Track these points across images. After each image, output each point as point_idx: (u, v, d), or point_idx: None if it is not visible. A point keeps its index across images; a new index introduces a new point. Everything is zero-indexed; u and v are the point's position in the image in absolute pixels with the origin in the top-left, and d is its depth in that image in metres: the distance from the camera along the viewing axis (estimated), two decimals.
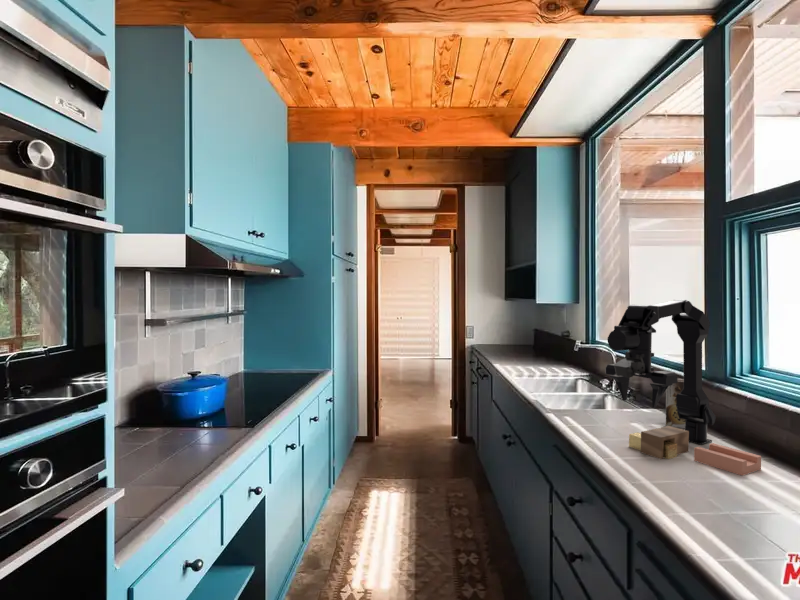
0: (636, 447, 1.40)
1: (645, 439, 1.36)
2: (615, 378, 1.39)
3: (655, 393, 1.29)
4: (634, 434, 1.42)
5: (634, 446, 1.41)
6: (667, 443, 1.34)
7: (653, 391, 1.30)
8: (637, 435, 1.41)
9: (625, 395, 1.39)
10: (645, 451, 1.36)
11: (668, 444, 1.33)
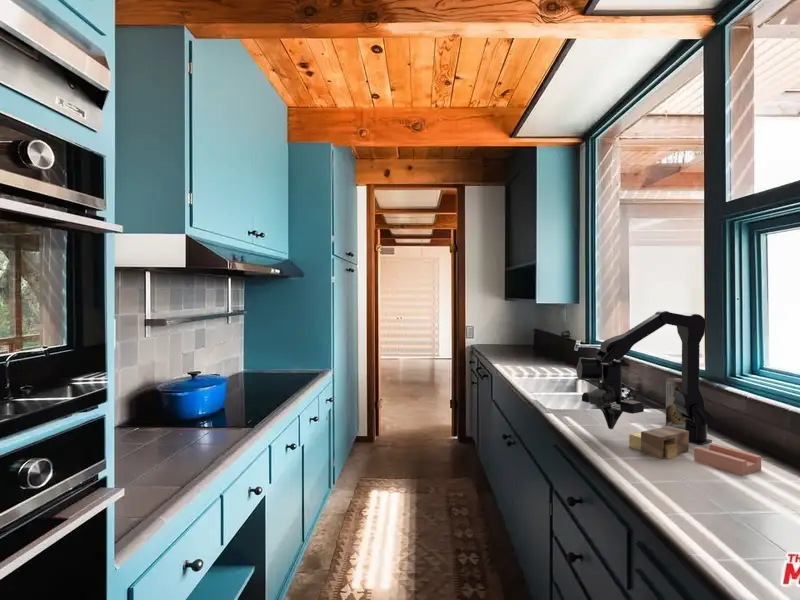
0: (636, 447, 1.40)
1: (645, 439, 1.36)
2: (601, 408, 1.50)
3: (611, 417, 1.49)
4: (634, 434, 1.42)
5: (634, 446, 1.41)
6: (667, 443, 1.34)
7: (610, 415, 1.49)
8: (637, 435, 1.41)
9: None
10: (645, 451, 1.36)
11: (668, 444, 1.33)
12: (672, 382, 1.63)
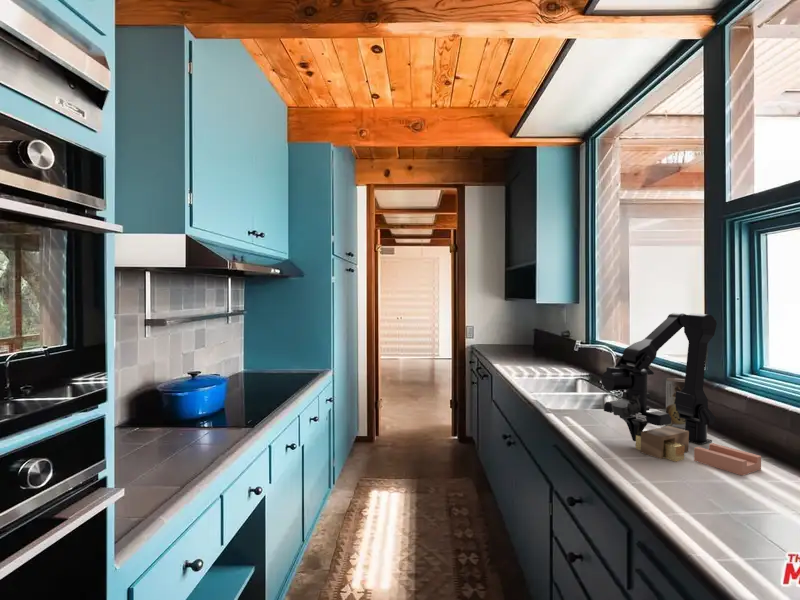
0: None
1: (645, 439, 1.36)
2: (625, 419, 1.43)
3: (636, 428, 1.41)
4: None
5: None
6: (674, 444, 1.32)
7: (634, 426, 1.41)
8: None
9: (635, 436, 1.43)
10: (645, 451, 1.36)
11: (675, 445, 1.31)
12: (672, 382, 1.63)
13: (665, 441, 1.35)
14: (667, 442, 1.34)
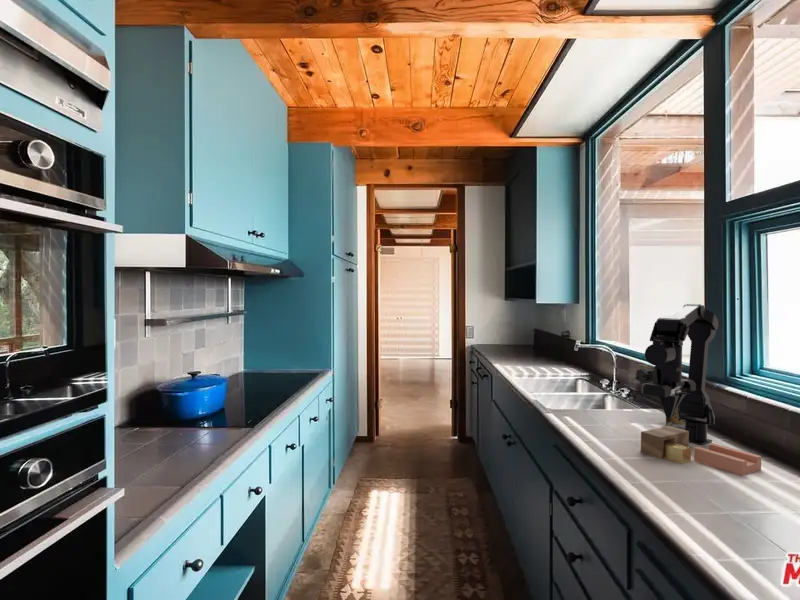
0: None
1: (645, 439, 1.36)
2: None
3: None
4: None
5: None
6: (681, 447, 1.30)
7: None
8: None
9: None
10: (645, 451, 1.36)
11: (682, 448, 1.30)
12: None
13: (671, 444, 1.33)
14: (673, 445, 1.33)
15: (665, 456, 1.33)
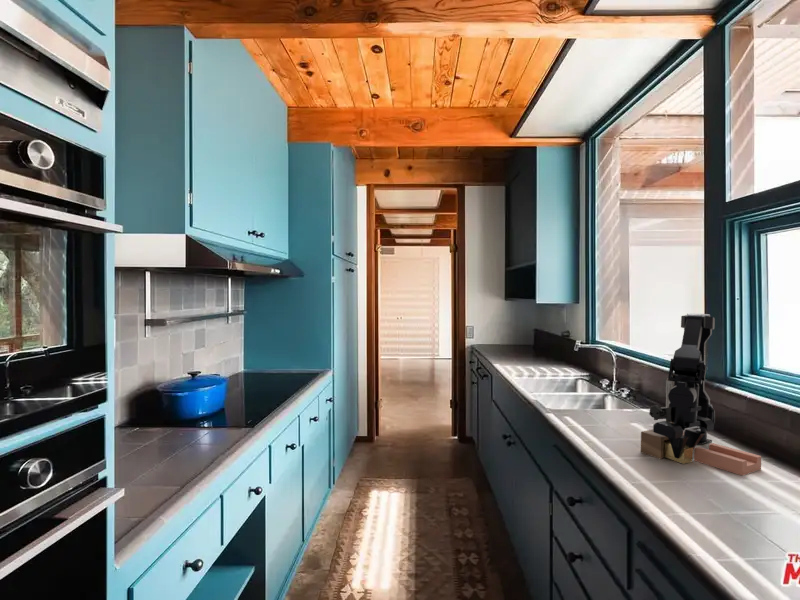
0: None
1: (645, 439, 1.36)
2: None
3: None
4: None
5: None
6: None
7: None
8: None
9: None
10: (645, 451, 1.36)
11: (684, 447, 1.29)
12: (672, 382, 1.63)
13: None
14: None
15: (666, 455, 1.32)
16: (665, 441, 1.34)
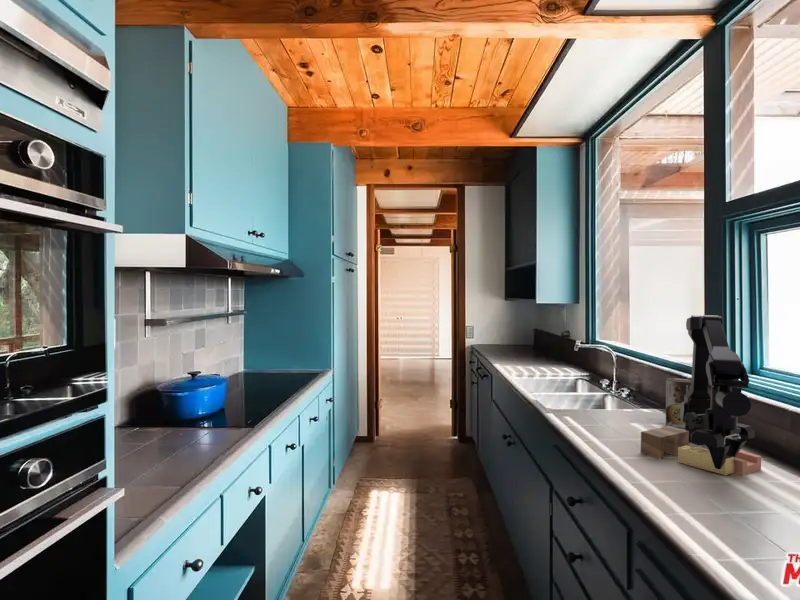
0: (687, 462, 1.27)
1: (645, 439, 1.36)
2: None
3: None
4: (683, 447, 1.29)
5: (684, 461, 1.28)
6: None
7: None
8: (687, 448, 1.28)
9: None
10: (645, 451, 1.36)
11: None
12: (672, 382, 1.63)
13: None
14: None
15: (706, 466, 1.23)
16: (702, 452, 1.25)
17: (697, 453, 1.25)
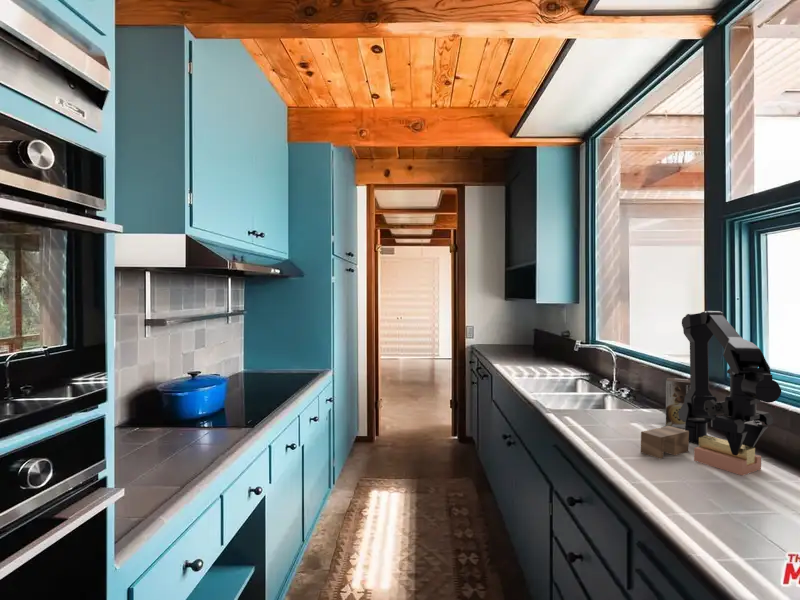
0: None
1: (645, 439, 1.36)
2: None
3: None
4: (704, 437, 1.32)
5: None
6: (744, 447, 1.24)
7: None
8: (708, 438, 1.31)
9: (748, 445, 1.26)
10: (645, 451, 1.36)
11: (745, 448, 1.23)
12: (672, 382, 1.63)
13: None
14: None
15: None
16: (723, 443, 1.27)
17: (718, 443, 1.28)
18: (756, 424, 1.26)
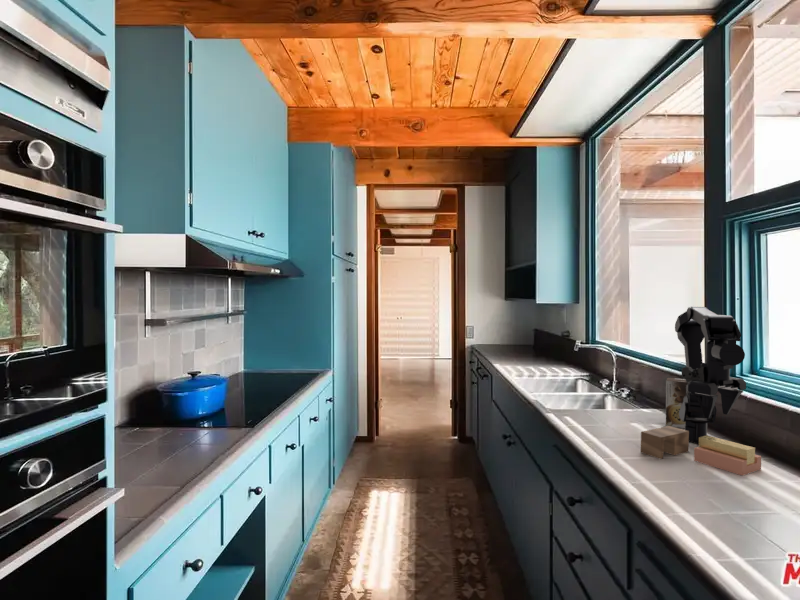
0: None
1: (645, 439, 1.36)
2: None
3: None
4: (704, 437, 1.32)
5: None
6: (744, 447, 1.24)
7: None
8: (708, 438, 1.31)
9: (725, 409, 1.34)
10: (645, 451, 1.36)
11: (745, 448, 1.23)
12: (672, 382, 1.63)
13: (733, 443, 1.27)
14: (735, 445, 1.26)
15: None
16: (723, 443, 1.27)
17: (718, 443, 1.28)
18: (732, 389, 1.33)
